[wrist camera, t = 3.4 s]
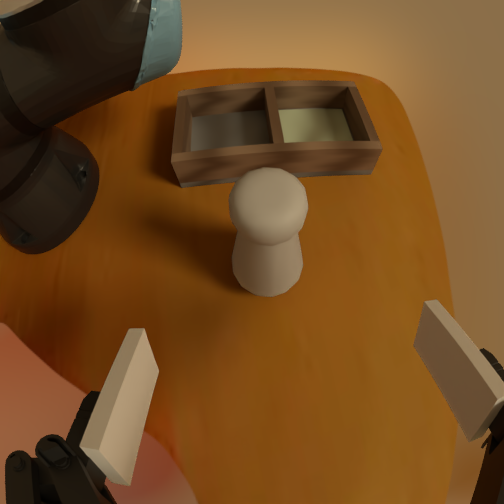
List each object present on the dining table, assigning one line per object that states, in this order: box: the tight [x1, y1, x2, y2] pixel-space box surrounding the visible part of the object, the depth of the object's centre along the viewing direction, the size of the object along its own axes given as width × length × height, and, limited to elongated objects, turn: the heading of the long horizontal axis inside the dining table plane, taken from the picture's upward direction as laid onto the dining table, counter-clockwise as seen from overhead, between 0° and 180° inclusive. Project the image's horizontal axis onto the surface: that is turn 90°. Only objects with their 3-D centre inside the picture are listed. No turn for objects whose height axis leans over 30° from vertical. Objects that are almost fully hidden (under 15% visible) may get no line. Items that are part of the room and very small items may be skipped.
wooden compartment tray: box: [171, 81, 382, 188], centre depth 31 cm, size 20×10×4 cm, turn 94°
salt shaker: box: [229, 167, 308, 297], centre depth 22 cm, size 6×6×13 cm
